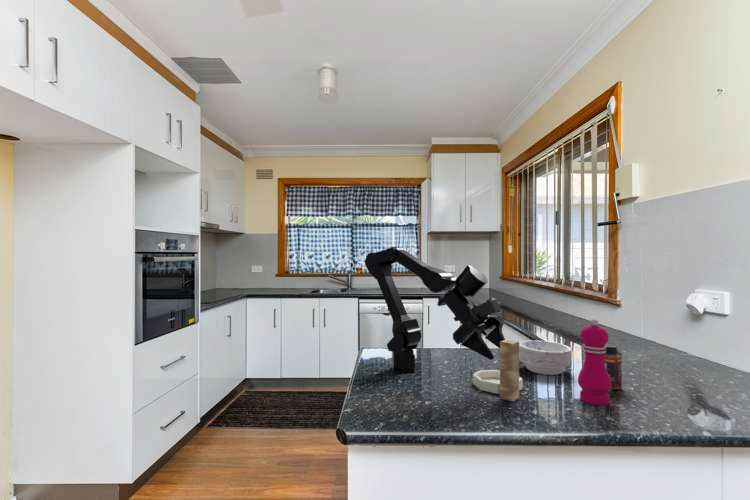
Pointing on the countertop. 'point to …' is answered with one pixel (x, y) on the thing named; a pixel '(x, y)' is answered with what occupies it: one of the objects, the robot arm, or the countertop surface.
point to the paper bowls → (545, 356)
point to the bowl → (490, 380)
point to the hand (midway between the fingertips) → (500, 355)
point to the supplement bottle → (613, 366)
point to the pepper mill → (594, 366)
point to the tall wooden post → (509, 370)
